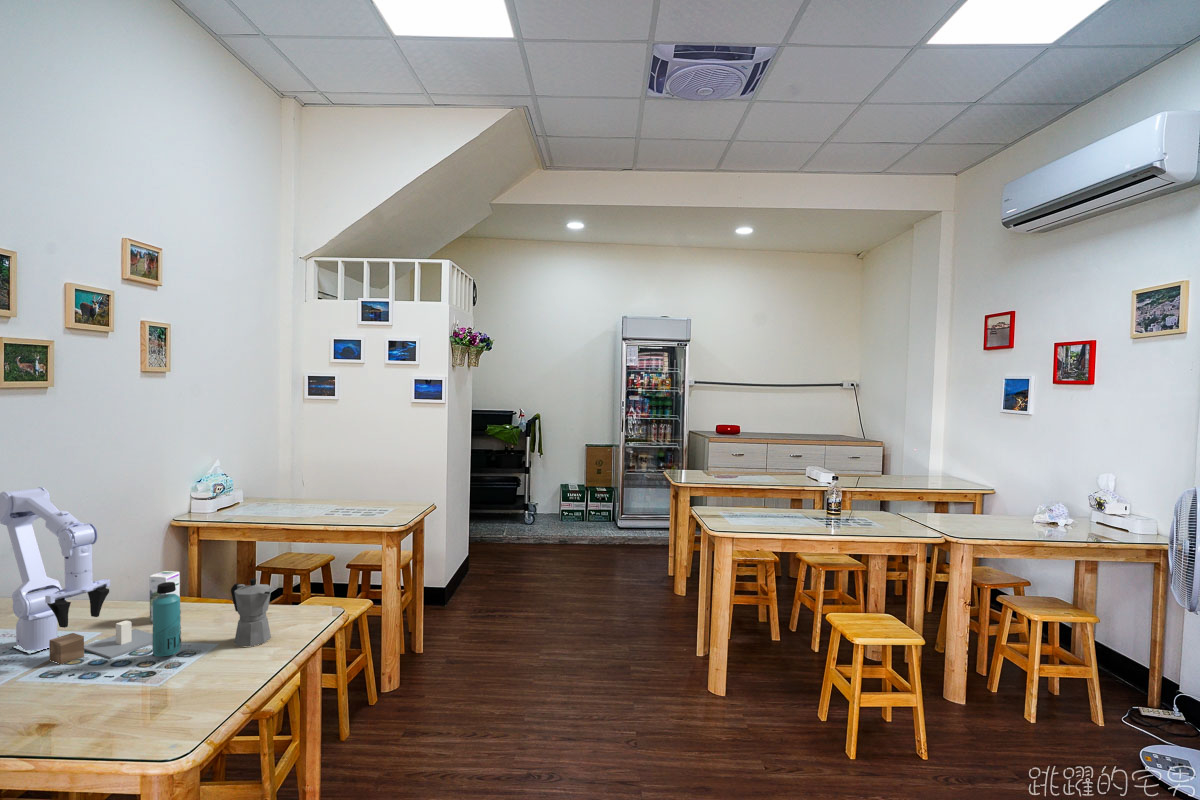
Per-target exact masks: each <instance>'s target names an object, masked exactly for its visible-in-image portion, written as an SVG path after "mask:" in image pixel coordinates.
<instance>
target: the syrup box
mask: <svg viewBox="0 0 1200 800" xmlns="http://www.w3.org/2000/svg"><path fill="white" fill-rule="evenodd" d="M148 581H149V583H148V584H149V586H148V587H149V622H150V623H153V604H152V602H153V601H154V600H155V599H156V598H157V597H158V596H160V595H164V594H158V593H157V587H158V585H159V584H161V583H165V582H174V583H175V587H176V590H175V591H173V592H170V593H165V594H176V595H178V596H179V597H180V593H181V592H180V586H181V585H180V583H181V581H180V571H172V570H169V571H168V570H162V571H161V570H160V571H158V572H156V573H153V574H151V575H149V580H148ZM180 598H181V597H180Z"/></svg>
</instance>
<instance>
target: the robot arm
mask: <svg viewBox="0 0 1200 800" xmlns="http://www.w3.org/2000/svg"><path fill="white" fill-rule="evenodd" d="M39 518H41V519H43V521H45V526H44V527H46V528H47V530H49V532H51V533H52V534H53V535H55V536H56V537H57V538H58V544H59V546H60V550H61V555H62V557H64V559H63V560H64V561H63V562H64V565H63V566H64V588H63V587H62V586H61V584H60V581H59V580H57V579H55V578H51V577H50V576H47V573H46V570H45V566H44V562H43V558H42V555H41V551H40V548H39V544H38V541H37V538H36V534H35V531H34V527H33V523H34V521H37V520H39ZM0 524H1V525H3V526H6V529H7V531H8V535H9V539H10V543H11V546H12V549H13V553H14V557H15V560H16V564H17V568H18V571H19V574H20V578H21V582H22V584H21V585H20V586H18V588H17V589H15V590H14V592H13V593H12V594H11V598H12V612H13V614H14V615H15V616H16V617H17V618H18V619H17V622H16V624H15V644H16V645H19V646H21V647H22V648H23V649H25V650H37V649H38V650H39V649H40V650H43V649H46V650H48V649H47V648H49V640H51V639H54V638H58V627H59V628H64V629H65V628H68V627H69V610H70V606H71V602H70V601H67V599H69V598H73V597H75V596H80V595H83V594H86V593H87V595H88V599H89V604H90V606H89V609H90V610H89V612H90V616H91V617H94V618H98V617H100V614H101V610H102V607H103V604H104V601H105V600H106V598H107V596H108V595H109V594H110V587H111V579H108V578H103V579H100V580H99V579H98V580H95V581H94V580H93V579H94V578H93V577H94V573H93V572H94V571H93V570H94V569H93V566H94V565H93V545H94V544H96V543H97V541H98V537H99V535H98V530H97V527H96V526H95V525H94V524H93V523H91V522H88V523H86V522H81V521H80V520H79V519H77V518H76V517H75V515H74V516H73V515H72V514H71V512H69V511H68V510H59V509H58V508H57V507H56V506H55V505H54V503H52V501H51V497H50V492H49V491H48V489H46V488H45V487H43V486H39V487H38V486H37V487H35V488H27V489H21V490H20V489H19V490H11V491H2V492H0ZM43 651H44V650H43Z"/></svg>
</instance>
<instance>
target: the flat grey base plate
mask: <svg viewBox="0 0 1200 800" xmlns="http://www.w3.org/2000/svg"><path fill="white" fill-rule="evenodd" d="M132 625H133V624H132V621H130V620H123V621H120V622H117V623H115V635H112V636H109V637H106V638H103V639H101V640H98V641H94V642H92V643H88V644H84V651H85V650H86V652H89V653H92V654H94V655H97V656H101V657H104V658H108V659H111V660H112V659H115V658H116V657H119V656H122V655H125V654H128V653H131V652H134V651H136V650H139V649H141V648H144V647H147V646H150V645H152V644H153V642H152V641H153V632H149V631H145V630H140V629H139V628H138V629H136V628H134V629H132V628H133V627H132Z"/></svg>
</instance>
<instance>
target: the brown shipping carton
mask: <svg viewBox="0 0 1200 800" xmlns="http://www.w3.org/2000/svg"><path fill="white" fill-rule="evenodd" d="M84 646H85V636H84V635H81V634H78V633H75V632H71V633H67V634H65V635H61V636H57V638H54V639H51V640H49V649H48V651H49V661H50V660H51V661H54V662H57V663H59V664H58V665H60V664H62V665H64V664H63V663H65V664H67V663H66V662H68V661H71V662H73V661H72V660H74V661H76V660H75V659H77V660H79V659H82V658H85V650H84ZM81 657H82V658H81ZM78 658H79V659H78ZM51 661H50V662H51ZM54 662H53V663H54ZM57 663H56V664H57ZM68 663H69V662H68Z"/></svg>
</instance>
